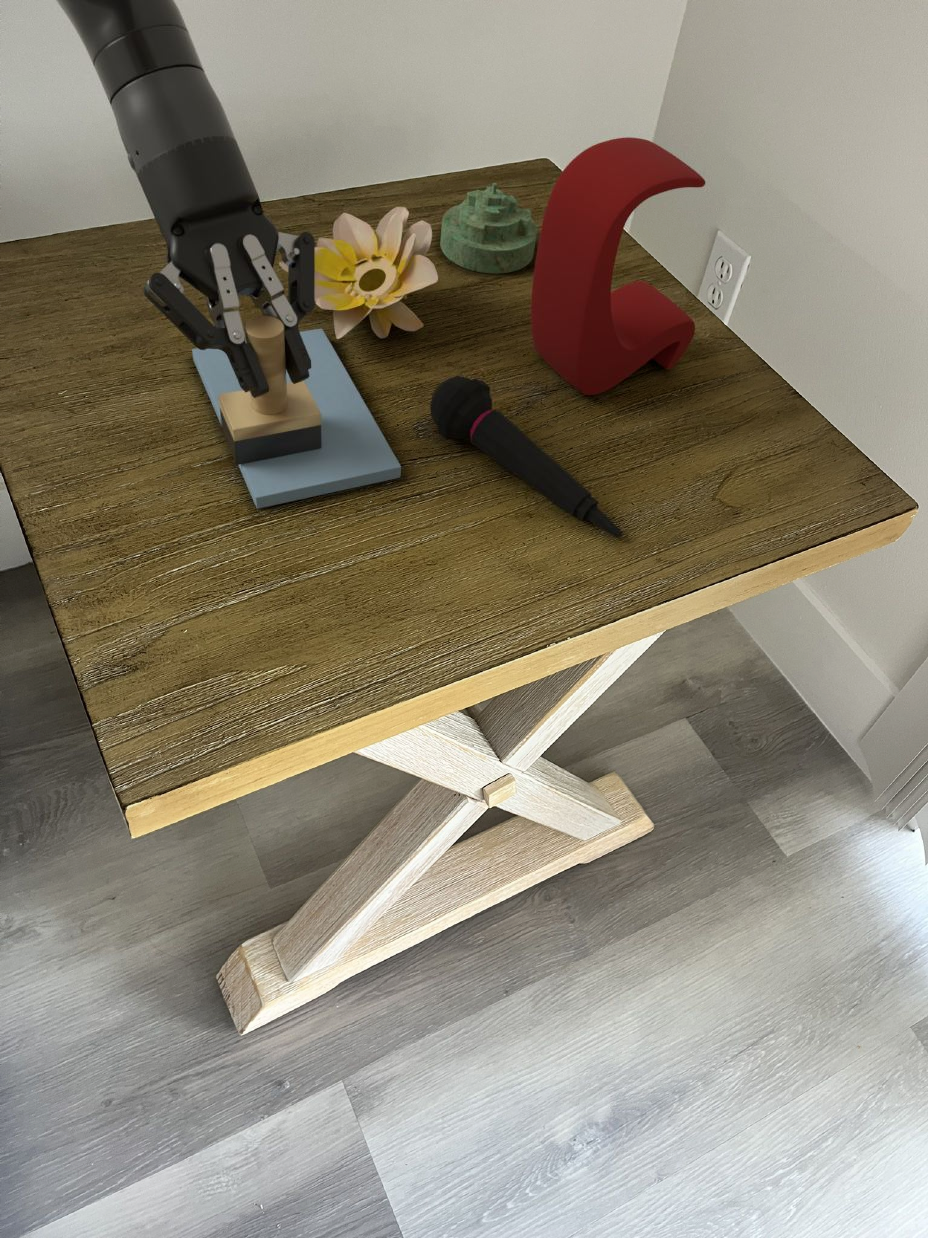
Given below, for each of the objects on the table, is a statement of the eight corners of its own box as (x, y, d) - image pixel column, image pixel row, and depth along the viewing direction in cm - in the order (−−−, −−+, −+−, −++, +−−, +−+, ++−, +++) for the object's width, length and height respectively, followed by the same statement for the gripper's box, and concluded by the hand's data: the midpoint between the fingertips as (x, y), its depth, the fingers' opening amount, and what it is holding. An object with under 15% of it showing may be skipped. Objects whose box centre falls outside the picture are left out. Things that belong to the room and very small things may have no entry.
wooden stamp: (236, 465, 77) (225, 351, 69) (221, 429, 80) (209, 316, 72) (322, 448, 80) (320, 336, 71) (305, 414, 82) (301, 302, 74)
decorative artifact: (517, 222, 109) (430, 226, 106) (526, 158, 103) (435, 161, 101) (545, 270, 103) (453, 276, 100) (557, 206, 97) (460, 210, 95)
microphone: (618, 552, 81) (445, 412, 87) (653, 499, 78) (471, 357, 83) (586, 571, 77) (407, 423, 83) (621, 516, 74) (432, 365, 79)
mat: (256, 509, 76) (255, 497, 75) (193, 360, 87) (191, 348, 86) (400, 477, 80) (401, 466, 79) (322, 338, 91) (322, 327, 90)
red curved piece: (562, 408, 88) (608, 191, 73) (516, 363, 92) (551, 148, 76) (685, 366, 94) (752, 158, 79) (637, 325, 98) (693, 119, 83)
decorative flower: (262, 259, 95) (283, 160, 89) (365, 265, 101) (392, 174, 95) (317, 356, 88) (346, 257, 81) (425, 357, 94) (460, 264, 87)
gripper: (101, 154, 64) (211, 408, 67) (289, 114, 70) (380, 348, 74) (82, 196, 70) (184, 426, 74) (255, 156, 76) (341, 370, 80)
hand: (281, 386), depth 74 cm, fingers closed on wooden stamp, 3 cm apart
